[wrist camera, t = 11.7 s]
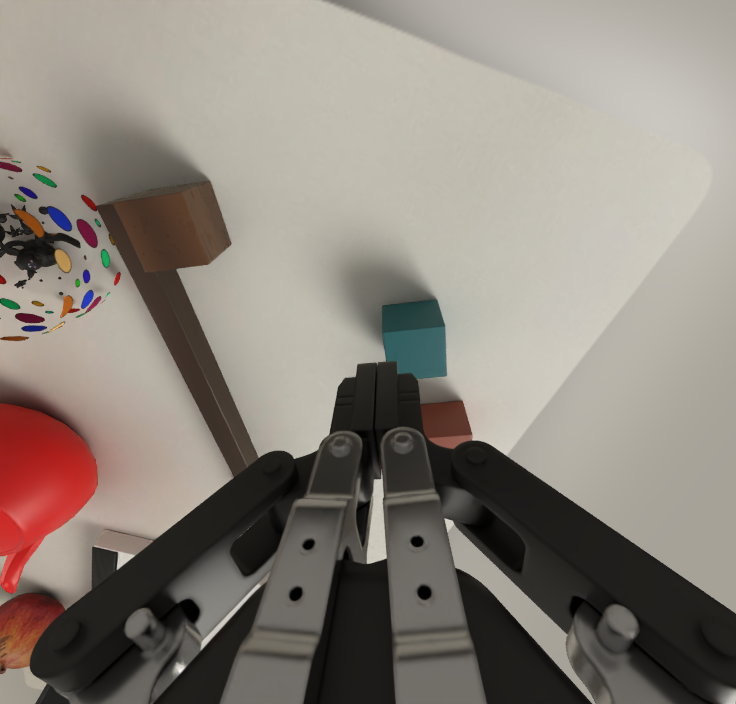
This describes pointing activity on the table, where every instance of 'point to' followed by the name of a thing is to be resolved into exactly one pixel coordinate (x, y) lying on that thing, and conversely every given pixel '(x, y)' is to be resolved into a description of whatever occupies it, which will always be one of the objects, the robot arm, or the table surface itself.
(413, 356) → the block teal
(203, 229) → the block walnut
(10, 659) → the fruit
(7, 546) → the teapot
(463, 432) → the block brick
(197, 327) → the rail
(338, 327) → the table surface
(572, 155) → the table surface
